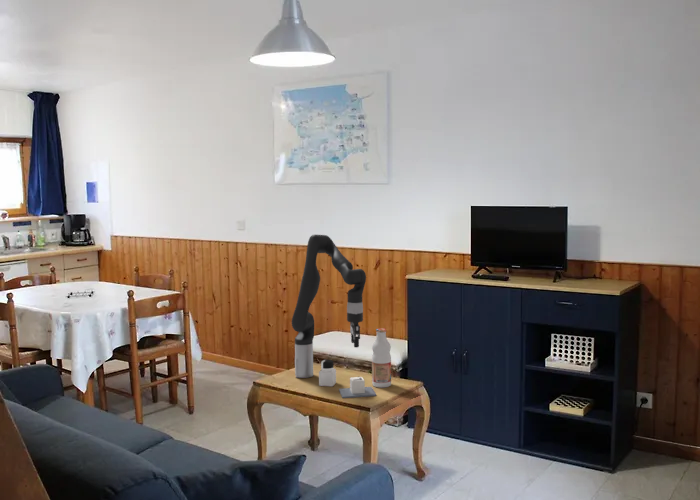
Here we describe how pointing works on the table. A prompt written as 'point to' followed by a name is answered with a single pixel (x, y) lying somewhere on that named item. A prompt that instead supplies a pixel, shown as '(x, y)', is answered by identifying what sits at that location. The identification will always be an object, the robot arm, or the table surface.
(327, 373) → the medicine bottle
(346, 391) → the slate mat
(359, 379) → the letter cube
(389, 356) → the white plastic bottle
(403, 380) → the table surface
